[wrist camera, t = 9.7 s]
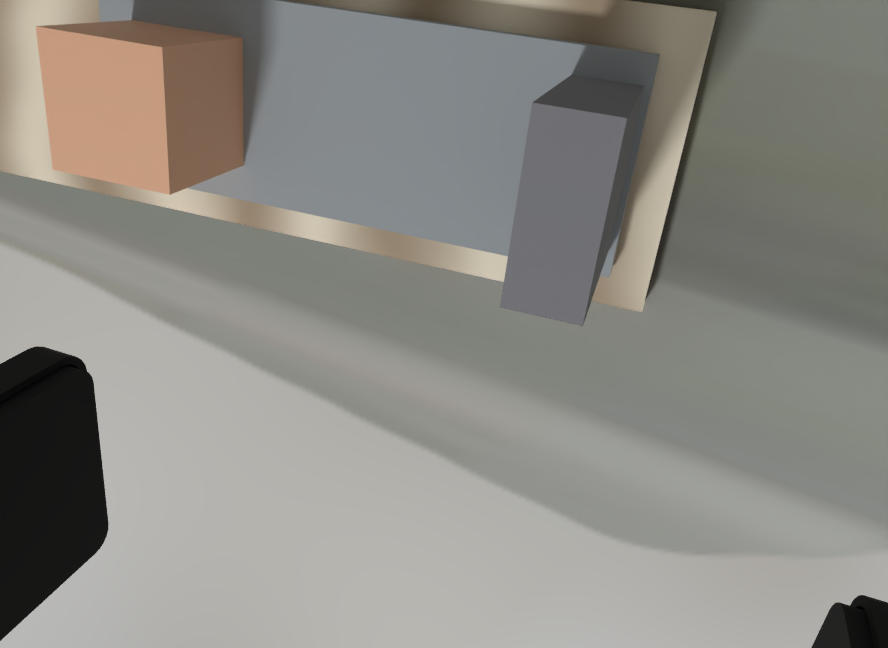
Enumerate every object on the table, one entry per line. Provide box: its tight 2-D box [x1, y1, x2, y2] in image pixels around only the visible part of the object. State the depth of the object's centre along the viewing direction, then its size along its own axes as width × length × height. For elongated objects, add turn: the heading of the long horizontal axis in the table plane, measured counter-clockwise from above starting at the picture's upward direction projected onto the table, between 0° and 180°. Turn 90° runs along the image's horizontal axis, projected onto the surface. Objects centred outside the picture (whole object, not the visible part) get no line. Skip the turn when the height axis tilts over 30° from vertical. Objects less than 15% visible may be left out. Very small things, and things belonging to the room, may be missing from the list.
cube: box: [36, 20, 244, 195], centre depth 29 cm, size 5×5×5 cm
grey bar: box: [98, 0, 660, 326], centre depth 26 cm, size 22×8×8 cm, turn 84°
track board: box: [0, 0, 717, 312], centre depth 31 cm, size 33×11×1 cm, turn 84°
